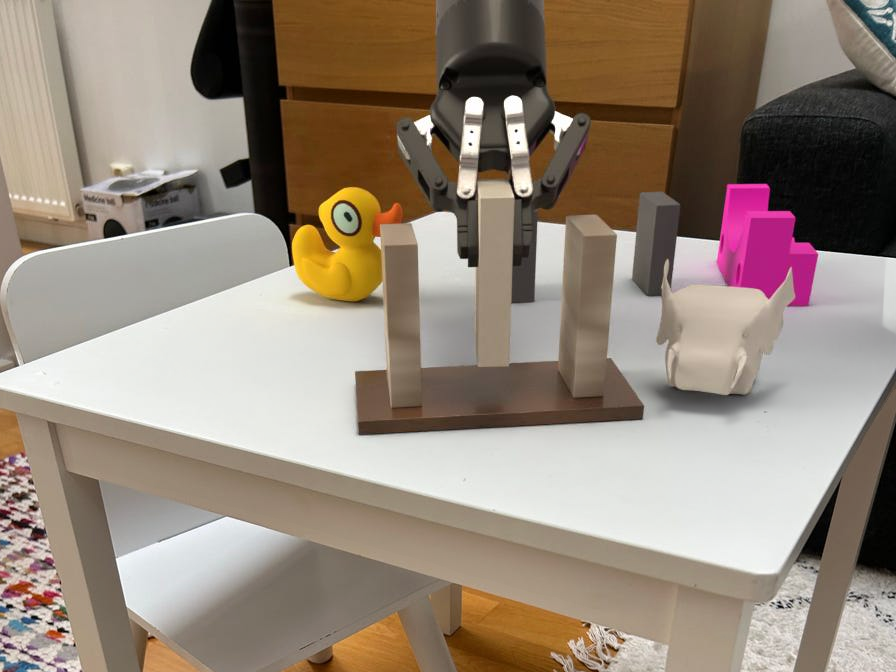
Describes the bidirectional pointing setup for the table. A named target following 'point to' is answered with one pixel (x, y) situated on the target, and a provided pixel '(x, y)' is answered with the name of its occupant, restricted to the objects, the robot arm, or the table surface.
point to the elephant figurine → (719, 334)
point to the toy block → (762, 245)
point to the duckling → (344, 246)
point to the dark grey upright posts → (649, 255)
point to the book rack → (520, 384)
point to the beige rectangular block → (494, 272)
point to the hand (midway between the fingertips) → (495, 259)
